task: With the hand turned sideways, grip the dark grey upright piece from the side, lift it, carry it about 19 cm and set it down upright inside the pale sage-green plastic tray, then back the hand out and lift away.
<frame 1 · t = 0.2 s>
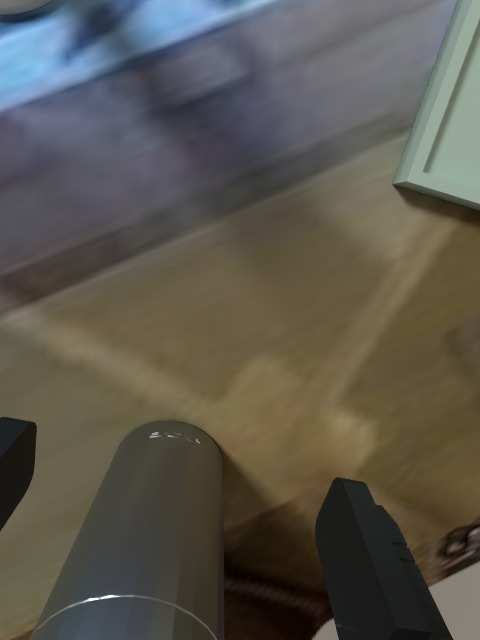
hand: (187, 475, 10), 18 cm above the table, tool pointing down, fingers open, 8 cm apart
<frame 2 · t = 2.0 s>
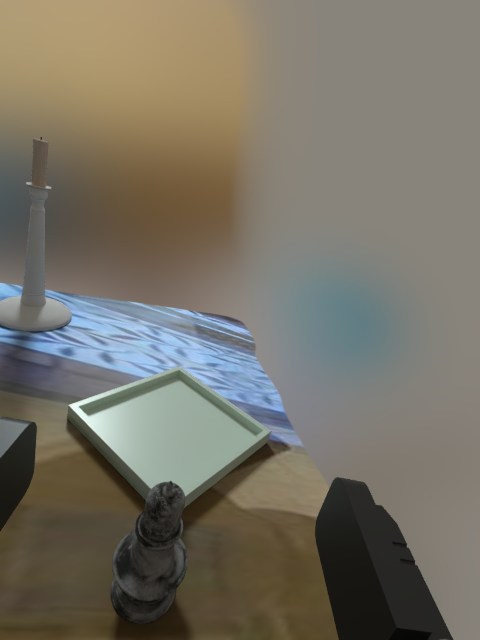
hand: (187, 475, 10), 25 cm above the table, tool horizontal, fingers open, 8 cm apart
tray: (172, 431, 48), on the table
dark grey upright piece: (143, 588, 30), on the table
candlestick: (32, 315, 66), on the table
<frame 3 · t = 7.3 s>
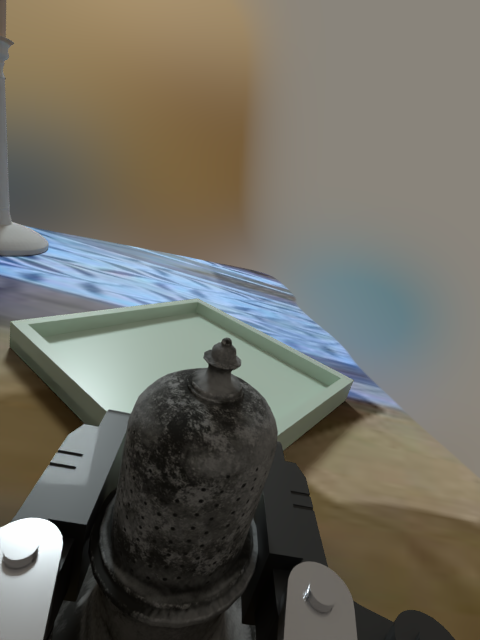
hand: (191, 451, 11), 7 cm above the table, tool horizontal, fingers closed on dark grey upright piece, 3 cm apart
tray: (192, 375, 28), on the table
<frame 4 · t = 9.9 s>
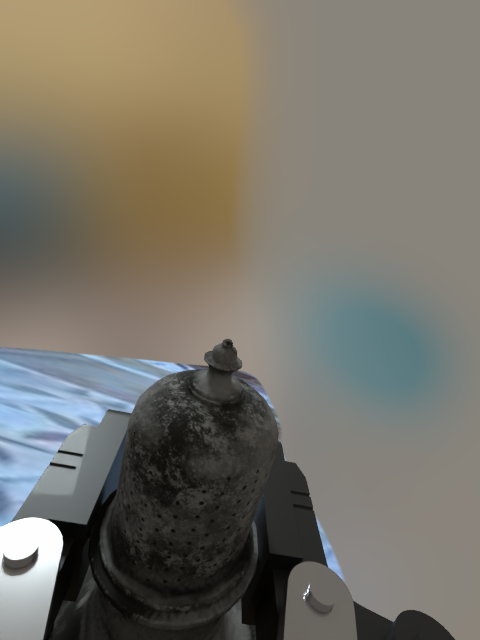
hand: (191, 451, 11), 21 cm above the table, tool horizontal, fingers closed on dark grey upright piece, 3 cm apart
when the fingers open (9 cm above the table, at t = 12.9 s): dark grey upright piece drops 1 cm, resting on tray.
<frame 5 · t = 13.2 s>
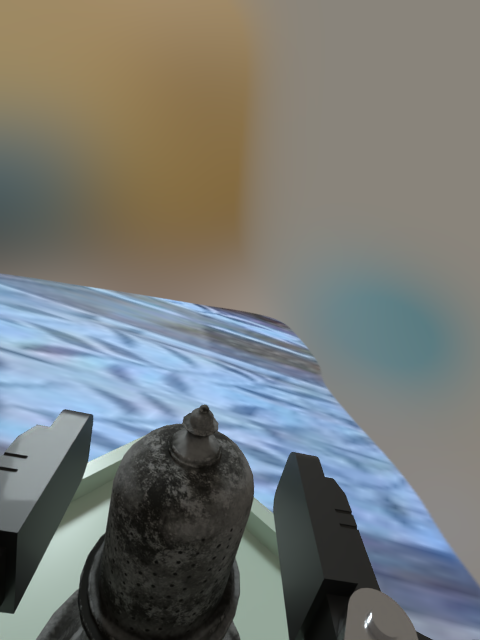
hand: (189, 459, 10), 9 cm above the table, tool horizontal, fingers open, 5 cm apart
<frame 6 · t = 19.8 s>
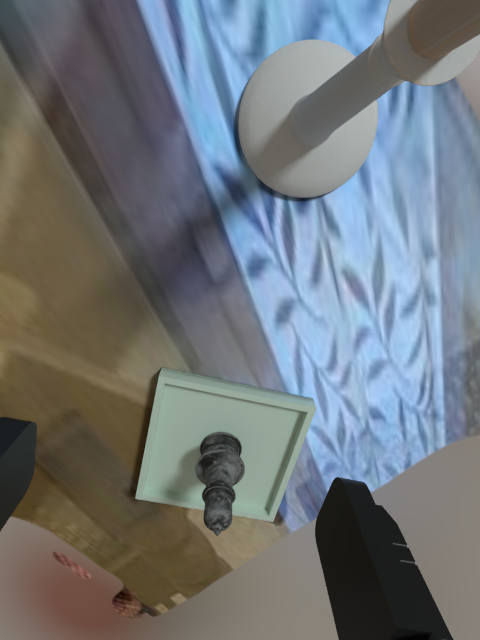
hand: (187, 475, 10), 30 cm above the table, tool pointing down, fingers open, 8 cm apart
tray: (221, 444, 46), on the table
dark grey upright piece: (220, 447, 46), point 1 cm above the table, touching tray
candlestick: (306, 125, 34), on the table
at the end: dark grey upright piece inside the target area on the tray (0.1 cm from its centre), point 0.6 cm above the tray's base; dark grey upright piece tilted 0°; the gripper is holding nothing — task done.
